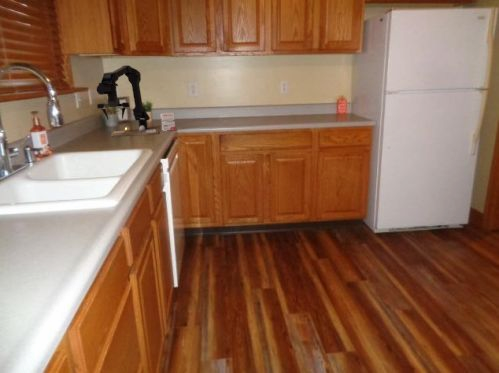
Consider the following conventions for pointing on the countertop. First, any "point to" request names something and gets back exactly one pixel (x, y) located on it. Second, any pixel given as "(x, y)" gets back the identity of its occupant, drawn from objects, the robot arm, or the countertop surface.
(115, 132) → the loose leaf
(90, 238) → the countertop surface
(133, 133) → the hinge board
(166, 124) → the ink box
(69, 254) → the countertop surface
